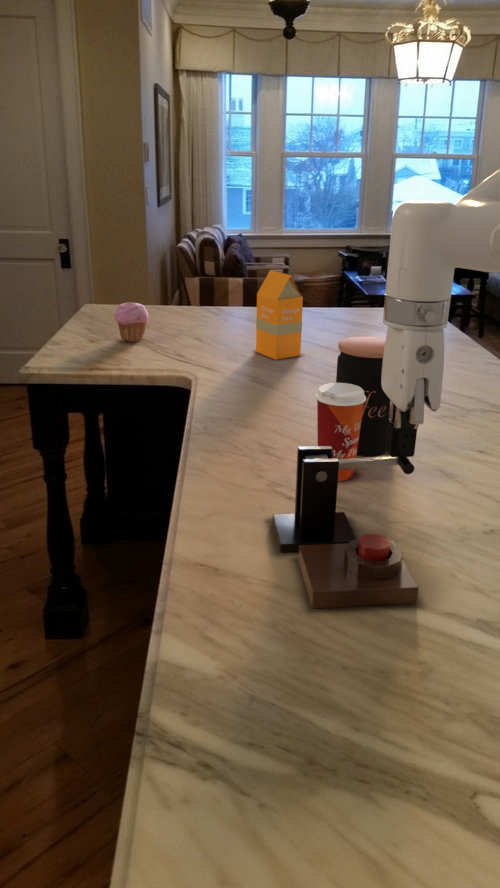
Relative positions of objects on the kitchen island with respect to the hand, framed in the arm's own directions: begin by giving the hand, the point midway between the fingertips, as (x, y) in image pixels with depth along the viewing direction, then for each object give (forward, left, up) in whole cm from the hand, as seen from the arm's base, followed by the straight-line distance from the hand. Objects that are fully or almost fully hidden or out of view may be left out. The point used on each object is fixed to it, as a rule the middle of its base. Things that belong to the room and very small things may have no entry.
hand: (399, 454), depth 90 cm
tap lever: (+5, 0, -2) cm, 6 cm away
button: (+6, +11, -8) cm, 15 cm away
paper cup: (+4, -19, -12) cm, 23 cm away
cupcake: (+41, -105, -12) cm, 113 cm away
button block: (+8, +11, -12) cm, 18 cm away
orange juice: (+4, -90, -12) cm, 91 cm away
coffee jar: (-3, -30, -12) cm, 32 cm away
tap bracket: (+11, 0, -12) cm, 16 cm away
